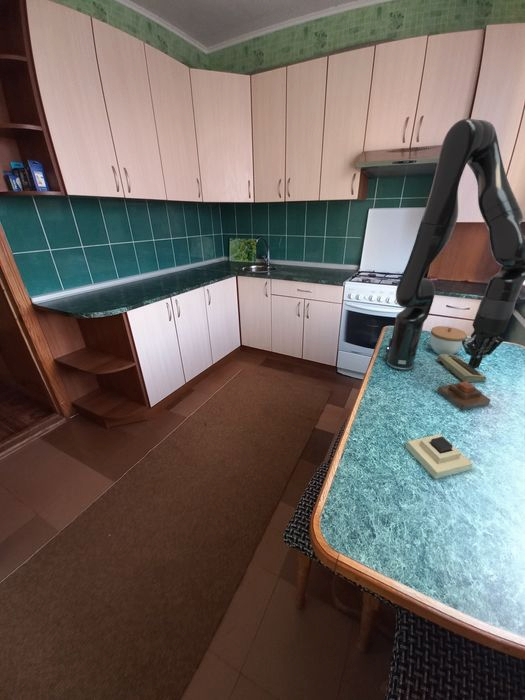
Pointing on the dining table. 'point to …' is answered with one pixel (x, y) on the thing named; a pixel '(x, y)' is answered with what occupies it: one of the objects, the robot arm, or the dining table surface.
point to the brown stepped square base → (463, 397)
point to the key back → (466, 387)
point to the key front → (441, 445)
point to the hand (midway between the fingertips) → (472, 367)
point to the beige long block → (460, 368)
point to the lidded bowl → (446, 339)
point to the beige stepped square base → (438, 458)
